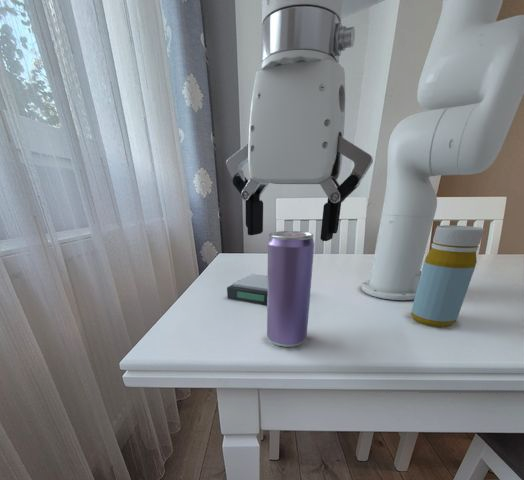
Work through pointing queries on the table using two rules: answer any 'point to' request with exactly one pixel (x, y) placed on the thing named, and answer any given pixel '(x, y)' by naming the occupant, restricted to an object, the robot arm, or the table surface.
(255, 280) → the scale
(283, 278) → the beverage can
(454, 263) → the bottle
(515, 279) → the table surface
